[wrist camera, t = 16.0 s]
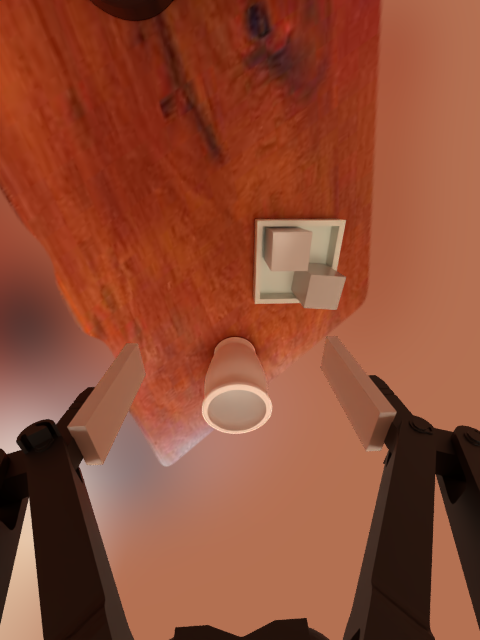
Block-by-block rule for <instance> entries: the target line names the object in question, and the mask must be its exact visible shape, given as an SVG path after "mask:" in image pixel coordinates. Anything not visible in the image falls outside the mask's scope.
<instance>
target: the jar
mask: <svg viewBox="0 0 480 640" xmlns="http://www.w3.org/2000/svg"><path fill="white" fill-rule="evenodd" d="M204 393H205V398H204V400H203V403H202V415H203V417H204V419H205V421H206V422H207V423H208V424H209V425H210V426H211V427H213V428H214V429H216V430H218V431H221V432H225V433H232V434H239V433H246V432H250V431H253V430H255V429H257V428H259V427H261V426H262V425H263V424H265V423H266V422H267V420H268V419H269V417H270V416H271V412H272V403H271V400H270V397H269V395H268V387H267V379H266V375H265V372H264V369H263V367H262V365H261V363H260V361H259V359H258V357H257V355H256V353H255V348H254V346H253V345H252V344H251V343H250V342H249V341H248V340H246V339H244V338H240V337H230V338H227V339H224V340H222V341H221V342H220V343H219V344H218V345H217V346H216V348H215V350H214V356H213V358H212V360H211V363H210V366H209V368H208V370H207V374H206V378H205V386H204Z"/></svg>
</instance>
